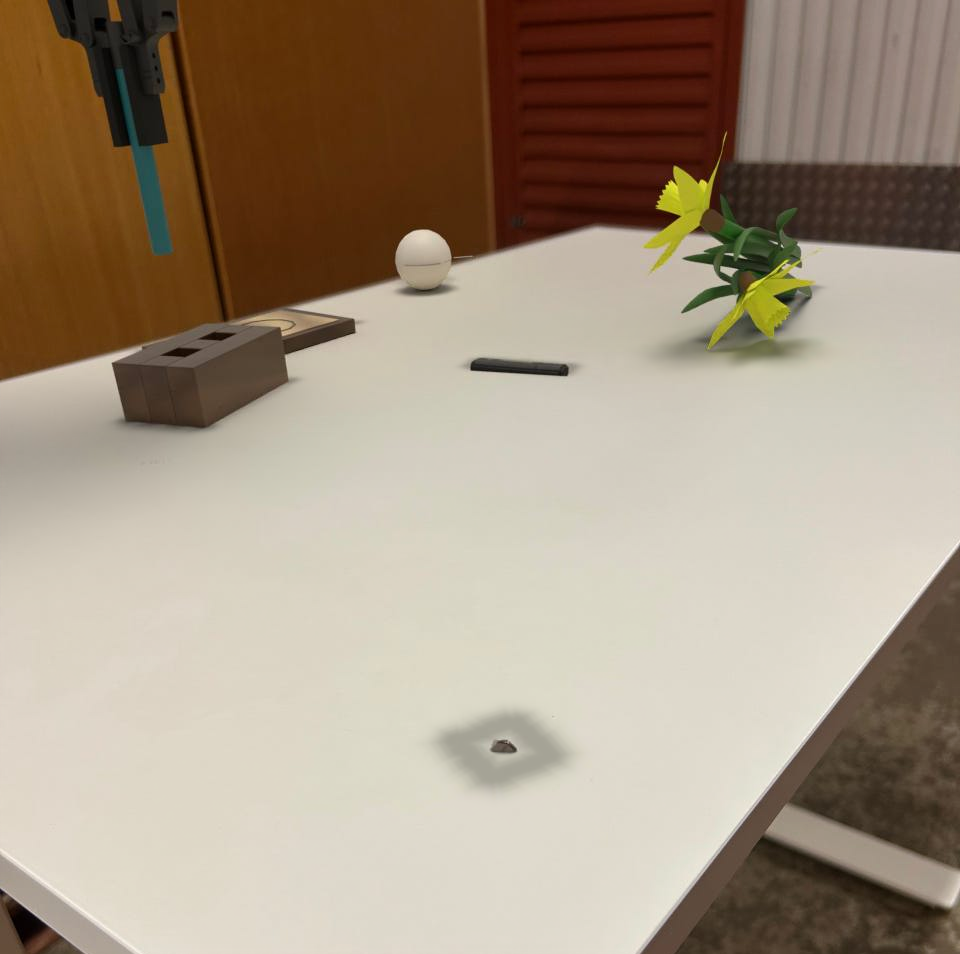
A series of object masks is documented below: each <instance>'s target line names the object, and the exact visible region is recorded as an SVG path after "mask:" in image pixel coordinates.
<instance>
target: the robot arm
mask: <svg viewBox="0 0 960 954" xmlns="http://www.w3.org/2000/svg"><path fill="white" fill-rule="evenodd" d="M115 1H116V4H117V9H118V12H119V16H120V21H122V24H123V28H124V32H125V35H122V36H119V38H120V40H121V41H122V42H123V43H124V44H128V45H129V44H132V46H121V47H119V52H120V57H121V62H122V67H123V72H124V77H125V81H126V86H127V91H128V96H129V101H130V106H131V111H132V115H133V120H134V125H135V130H136V135H137V140H138V145H139V146H156V145H163V144H169V137H168V131H167V127H166V122H165V116H164V111H163V106H162V101H161V100H162V99H161V95H160V94H162V95H163V94H165V93H166V92H165V91H166V81H165V77H164V71H163V66H162V61H161V55H160V50H159V43H160V41H161V39H162V38H163V37H165V36H167V35H168V34H169V33H173V32H176V31H177V30H178V28H179V15H178V14H179V13H178V11H179V10H178V0H115ZM46 2H47V5H48V8H49V11H50V13H51V16H52V17H51V18H52V20H53V23H54V25H55V28H56V31H57V33H58V35H59V37H60V38H62V39H65V40H66V39H67V40H71V41H74V42H76V43H78V44H80V45H81V46H82V47H83V48H84V50H85V54H86V58H87V61H88V66H89V71H90V74H91V80H92V84H93V89H94V92H95V93H96V95H97V98H102V99H103V103H104V107H105V113H106V117H107V122H108V127H109V131H110V135H111V140H112V141H111V142H112V145H113V148H124V147H125V148H126V147H131V145H130V140H129V135H128V130H127V125H126V121H125V116H124V111H123V106H122V101H121V96H120V91H119V86H118V82H117V77H116V72H115V69H114V66H113V61H112V56H111V51H110V46H109V41H108V37H107V32H106V27H105V22H110V21H112V19H111V11H110V4H109V0H46Z"/></svg>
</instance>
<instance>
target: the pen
mask: <svg viewBox="0 0 960 954" xmlns="http://www.w3.org/2000/svg"><path fill="white" fill-rule="evenodd" d="M105 27H106V32H107V37H108V41H109V46H110V51H111V56H112V61H113V66H114V69H115V72H116V77H117V82H118V86H119V91H120V96H121V101H122V106H123V111H124V116H125V121H126V125H127V130H128V135H129V140H130V145H131V146H130V150H131V154H132V158H133V163H134V169H135V174H136V179H137V183H138V187H139V192H140V198H141V202H142V207H143V213H144V217H145V222H146V227H147V232H148V236H149V237H148V238H149V242H150V247H151V252H152V254H153V256H164V255H171V254H172V253H174V248H173V244H172V239H171V235H170V234H171V233H170V228H169V223H168V218H167V213H166V207H165V203H164V199H163V193H162V188H161V182H160V178H159V177H160V176H159V173H158V167H157V162H156V157H155V152H154V147H153V146H154V145H152V146H139V145H138V140H137V135H136V130H135V125H134V120H133V115H132V111H131V106H130V101H129V96H128V91H127V86H126V81H125V77H124V72H123V67H122V62H121V57H120V52H119V47H121V46H132V44H129V45H128V44H124V43H123V42H122V41H121V40H120V38H119V36H122V35H125V32H124V28H123V24H122V20H114V21H113V20H111V21H110V22H105Z"/></svg>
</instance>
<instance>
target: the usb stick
mask: <svg viewBox="0 0 960 954" xmlns="http://www.w3.org/2000/svg"><path fill="white" fill-rule="evenodd" d="M569 368H570V367H569V366H568V365H567V364H566V363H552V362H539V361H526V360H525V361H524V360H514V359H501V358H488V357H478V358H475V359H474V360H472V361H471V363H470V368H469V369H470V372H481V373H482V372H483V373H499V374H500V373H501V374H518V375H535V376H536V375H537V376H553V377H568V375H569Z"/></svg>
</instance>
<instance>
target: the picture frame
mask: <svg viewBox="0 0 960 954" xmlns="http://www.w3.org/2000/svg"><path fill="white" fill-rule="evenodd" d="M225 324H230V325H249V326H272V327H281V333H282V340H283V346H284V353H285V355H287V354H290V353H292V352H296V351H299V350H302V348H303V349H306V348H309V347H312V346H315V345H318V343H319V344H321V342H322V343H324V341H325V342H328V341H331V340H334V338H335V339H338V338H341V337H344V336H348V335H351V334H353V332H354V333H356V332H357V331H356V330H357V329H356V321H355V318H352V317H347V316H339V315H333V314H327V313H321V312H314V311H308V310H302V309H295V308H290V307H282V308H278V309H273V310H270V311H266V312H263V313H259V314H256V315H252V316H249V317H244V318H241V319H237V320H234V321H230V322H226V323H225ZM350 333H351V334H350ZM337 337H338V338H337ZM165 340H166V339H164V340H161V341H156V342H152V343H149V344H145V345H142V346H141V350H143V349H146V348H148V347H151V346H153V345H155V344H158V343H160V342H163V341H165ZM286 353H287V354H286Z"/></svg>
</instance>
